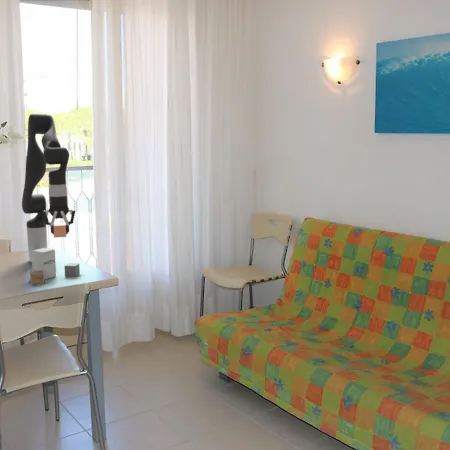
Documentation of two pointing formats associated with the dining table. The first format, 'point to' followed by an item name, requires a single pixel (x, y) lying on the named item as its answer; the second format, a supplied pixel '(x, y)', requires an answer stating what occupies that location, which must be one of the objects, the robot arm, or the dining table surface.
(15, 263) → the dining table surface
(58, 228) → the terracotta cube
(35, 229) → the robot arm
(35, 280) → the walnut cube
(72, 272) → the charcoal cube
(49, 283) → the dining table surface
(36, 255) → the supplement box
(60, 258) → the dining table surface
